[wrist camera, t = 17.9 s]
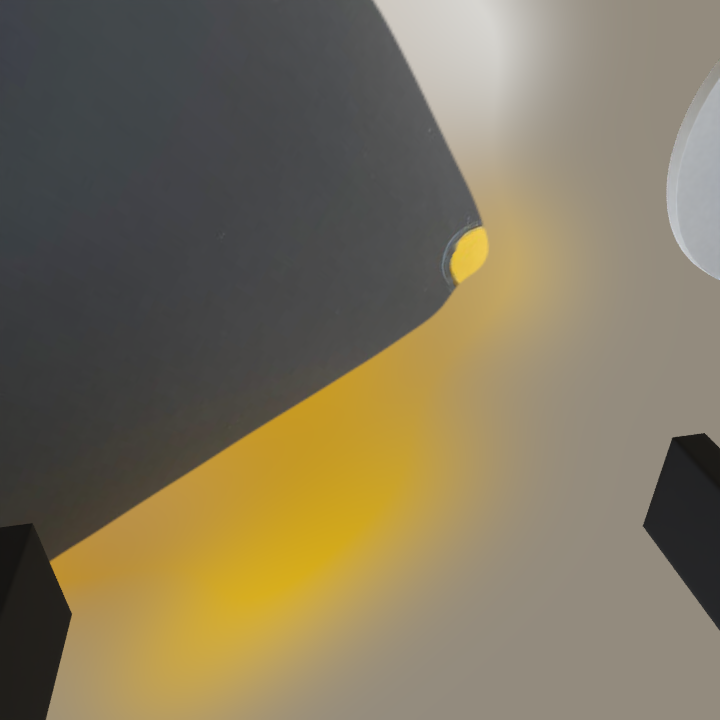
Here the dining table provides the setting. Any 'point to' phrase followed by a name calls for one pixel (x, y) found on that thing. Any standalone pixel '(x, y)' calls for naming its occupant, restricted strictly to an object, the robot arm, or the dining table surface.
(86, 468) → the dining table surface
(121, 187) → the dining table surface
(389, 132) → the dining table surface
